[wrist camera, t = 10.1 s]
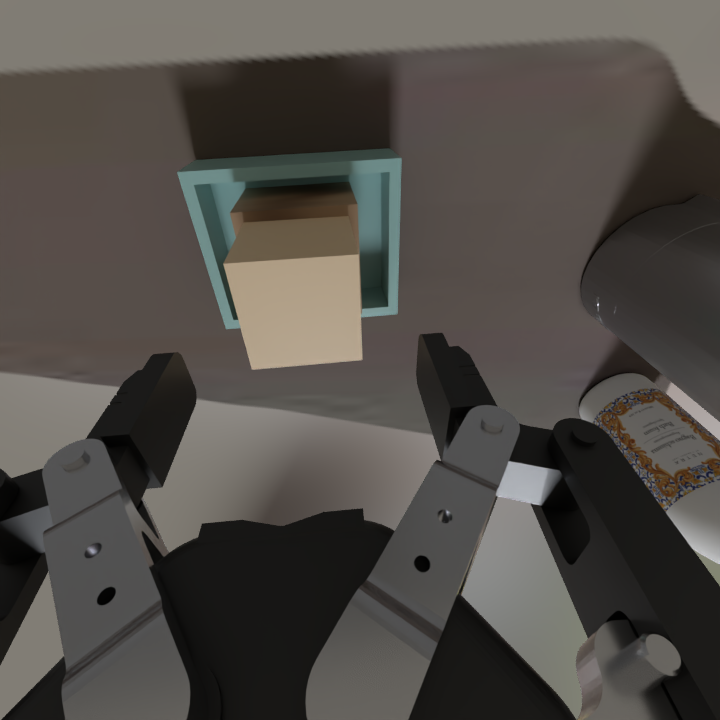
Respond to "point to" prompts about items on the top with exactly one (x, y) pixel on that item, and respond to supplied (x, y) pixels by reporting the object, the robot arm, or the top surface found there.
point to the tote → (359, 167)
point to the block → (297, 205)
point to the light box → (297, 291)
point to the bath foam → (663, 453)
